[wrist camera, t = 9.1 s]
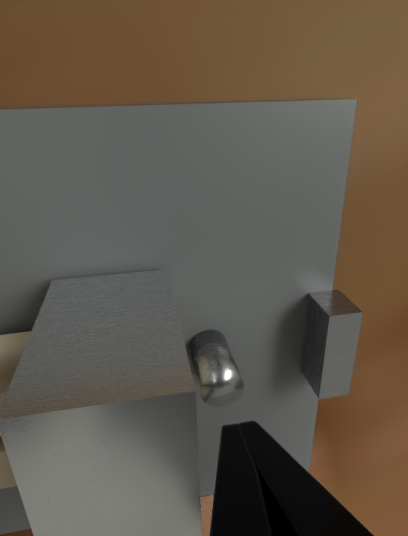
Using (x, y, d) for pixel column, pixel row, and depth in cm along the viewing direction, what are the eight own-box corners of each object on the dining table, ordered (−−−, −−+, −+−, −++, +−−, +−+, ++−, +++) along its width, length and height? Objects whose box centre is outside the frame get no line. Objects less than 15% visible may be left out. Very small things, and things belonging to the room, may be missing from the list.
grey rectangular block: (167, 269, 10) (195, 391, 6) (178, 427, 13) (204, 594, 9) (52, 280, 10) (-4, 419, 6) (85, 441, 12) (63, 625, 8)
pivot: (338, 289, 12) (375, 323, 10) (328, 366, 13) (359, 408, 12) (187, 306, 11) (198, 345, 10) (190, 386, 13) (201, 434, 11)
